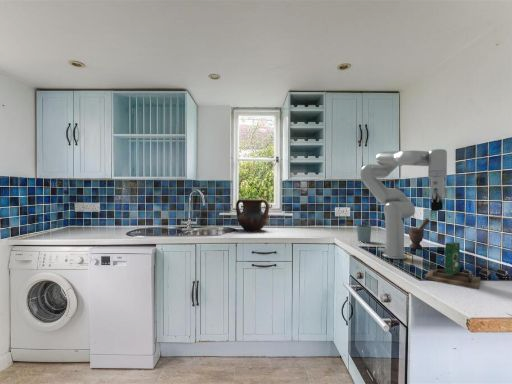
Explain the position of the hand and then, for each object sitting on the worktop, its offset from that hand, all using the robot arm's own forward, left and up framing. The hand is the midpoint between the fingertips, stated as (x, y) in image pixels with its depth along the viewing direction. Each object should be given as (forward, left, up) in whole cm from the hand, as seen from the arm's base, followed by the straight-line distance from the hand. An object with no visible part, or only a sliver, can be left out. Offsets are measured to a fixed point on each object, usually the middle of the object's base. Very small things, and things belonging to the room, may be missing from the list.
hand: (437, 210), depth 135 cm
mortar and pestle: (-17, +49, -28) cm, 59 cm away
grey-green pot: (-52, +47, -28) cm, 76 cm away
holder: (+8, -16, -28) cm, 33 cm away
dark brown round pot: (-150, +33, -28) cm, 156 cm away
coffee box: (+8, -16, -26) cm, 31 cm away
